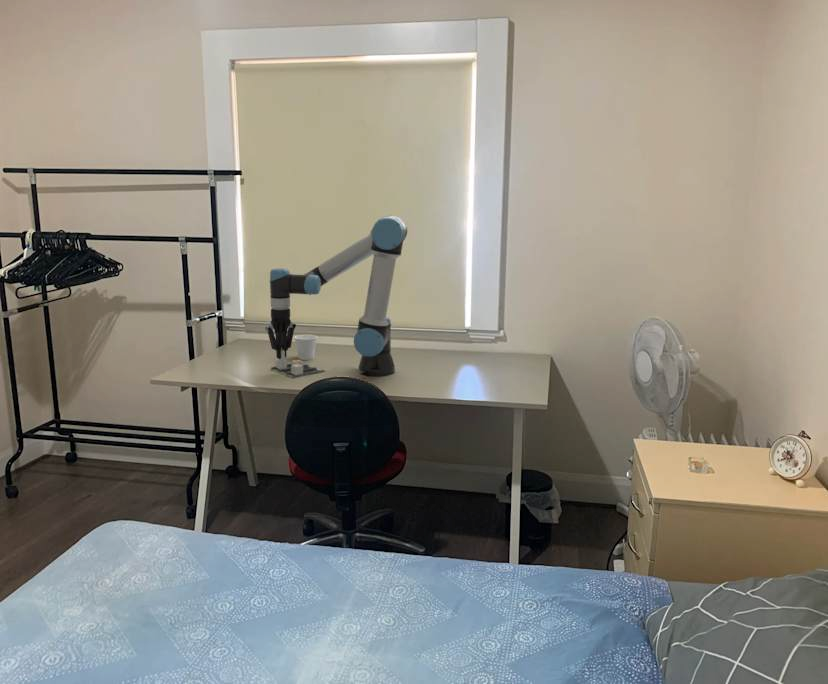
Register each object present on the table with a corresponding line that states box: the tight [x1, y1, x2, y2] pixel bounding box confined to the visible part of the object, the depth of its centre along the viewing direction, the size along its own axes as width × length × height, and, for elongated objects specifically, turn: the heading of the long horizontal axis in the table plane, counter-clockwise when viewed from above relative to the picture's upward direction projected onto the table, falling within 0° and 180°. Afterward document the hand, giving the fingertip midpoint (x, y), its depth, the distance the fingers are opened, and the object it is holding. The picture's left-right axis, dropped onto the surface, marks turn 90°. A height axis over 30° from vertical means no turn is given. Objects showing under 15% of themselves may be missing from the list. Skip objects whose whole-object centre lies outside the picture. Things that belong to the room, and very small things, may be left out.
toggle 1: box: [274, 358, 288, 369], centre depth 284 cm, size 4×3×4 cm
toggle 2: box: [291, 359, 304, 366], centre depth 283 cm, size 4×3×4 cm
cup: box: [293, 334, 318, 361], centre depth 302 cm, size 10×10×11 cm
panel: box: [269, 362, 327, 379], centre depth 283 cm, size 18×16×2 cm
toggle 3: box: [291, 364, 303, 375], centre depth 276 cm, size 4×3×4 cm
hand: (281, 365), depth 278 cm, fingers closed
